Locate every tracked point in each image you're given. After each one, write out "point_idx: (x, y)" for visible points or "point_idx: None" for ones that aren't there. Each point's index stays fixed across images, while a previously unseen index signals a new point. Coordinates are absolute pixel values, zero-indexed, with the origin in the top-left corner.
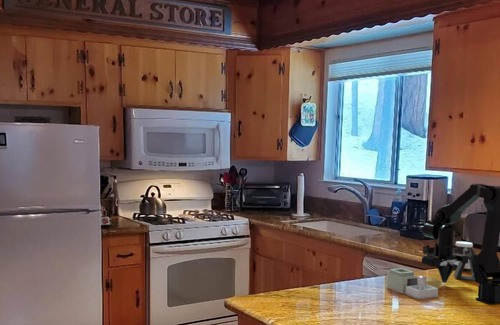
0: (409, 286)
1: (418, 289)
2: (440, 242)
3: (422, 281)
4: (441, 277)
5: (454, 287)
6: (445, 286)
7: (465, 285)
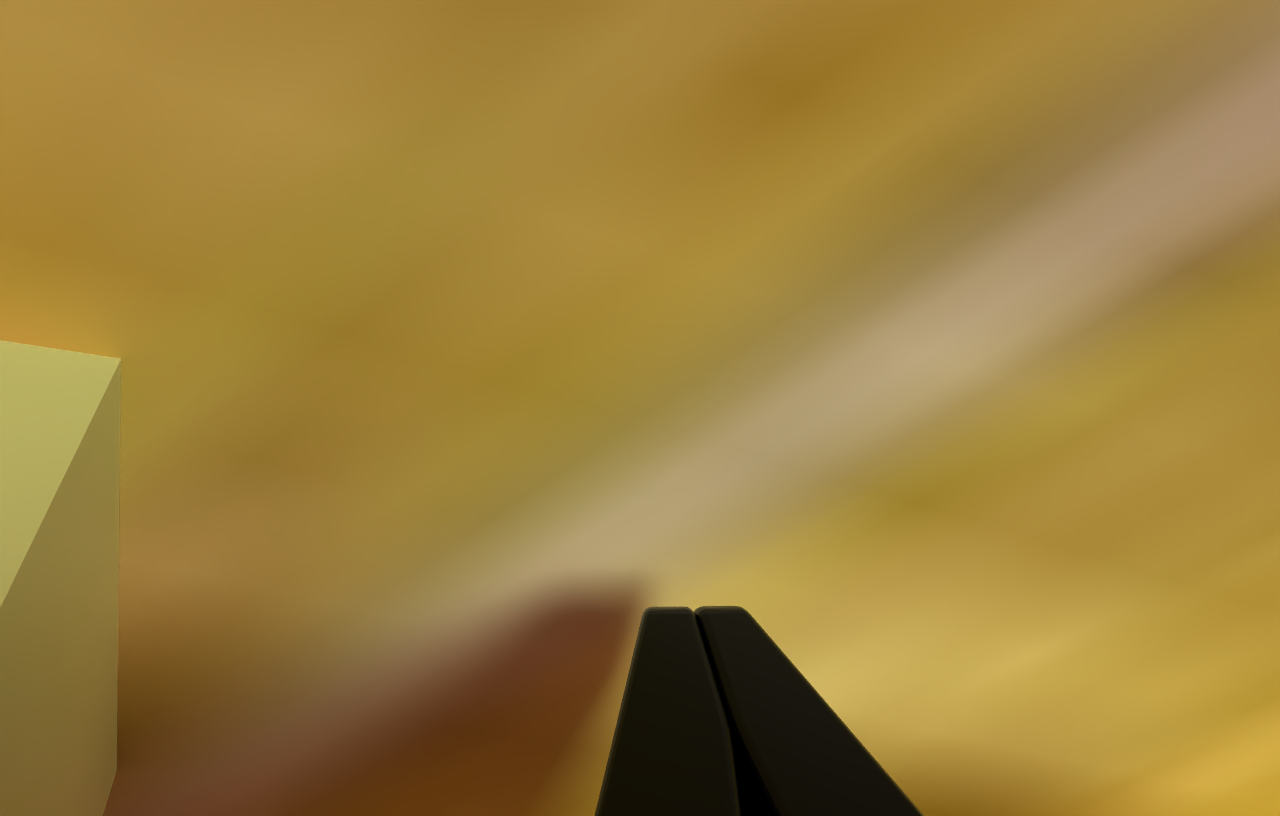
0: None
1: None
2: None
3: None
4: (606, 785)
5: None
6: (530, 683)
7: (1257, 746)
